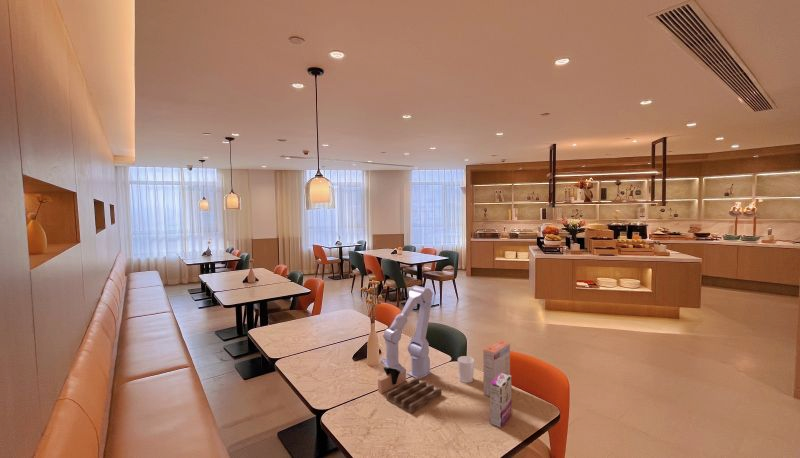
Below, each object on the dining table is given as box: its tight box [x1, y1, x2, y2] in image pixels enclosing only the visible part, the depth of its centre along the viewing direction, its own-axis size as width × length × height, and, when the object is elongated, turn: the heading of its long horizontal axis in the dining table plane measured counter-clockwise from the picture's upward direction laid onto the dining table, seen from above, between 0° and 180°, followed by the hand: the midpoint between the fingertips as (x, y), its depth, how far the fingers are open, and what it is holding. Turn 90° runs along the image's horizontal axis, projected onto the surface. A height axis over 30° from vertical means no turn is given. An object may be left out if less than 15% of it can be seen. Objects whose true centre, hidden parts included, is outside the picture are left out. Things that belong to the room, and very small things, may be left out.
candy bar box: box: [489, 373, 512, 429], centre depth 139 cm, size 11×5×16 cm, turn 143°
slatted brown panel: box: [386, 377, 442, 414], centre depth 155 cm, size 20×14×3 cm
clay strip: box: [377, 368, 407, 394], centre depth 165 cm, size 16×2×6 cm, turn 135°
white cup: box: [457, 355, 475, 384], centre depth 171 cm, size 8×8×10 cm
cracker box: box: [482, 340, 511, 398], centre depth 160 cm, size 14×6×21 cm, turn 134°
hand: (392, 382), depth 165 cm, fingers closed on clay strip, 2 cm apart
